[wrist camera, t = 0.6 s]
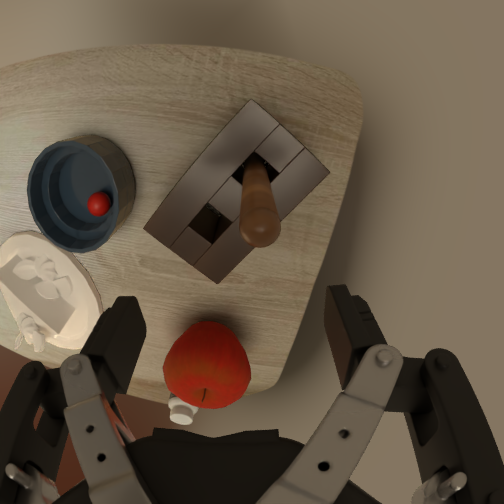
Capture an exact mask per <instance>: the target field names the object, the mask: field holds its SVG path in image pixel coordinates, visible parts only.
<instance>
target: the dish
mask: <svg viewBox="0 0 504 504" xmlns="http://www.w3.org/2000/svg"><path fill="white" fill-rule="evenodd" d="M0 289H1V291H2V293H3V296H4V298H5V300H6V302H7V304H8V306H9V309H10V311H11V313H12V315H13V317H14V319H15V321H16V323H17V325H18V328H19V330H20V331H21V332H20V333H19V334H18V336H17V338H16V341H15V350H17V348H18V347H19V346H20V344H21V343H22V340H23V337H24V338H25V340H26V341H27V343H28V345H29V344H32V343H33V344H34V351H35V352H41V351H43V350H44V347H45V341H46V342H49V343H51V344H53V345H55V346H58V347H60V348H67V349H75V350H76V349H80V348H83V346H84V344H85V342H86V340H87V339H88V337H89V335H90V333H91V332H92V331H93V328H94V326H95V325H96V322H97V321H98V319H99V317H100V315H101V314H102V313H103V309H102V304H101V299H100V295H99V293H98V291H97V289H96V287H95V285H94V283H93V281H92V279H91V277H90V275H89V273H88V272H87V271H86V270H85V269H84V267H83V266H82V265H81V264H80V263H79V261H78V260H77V259H76V258H75V257H74V255H73V254H72V253H71V252H68V251H66V250H64V249H61V248H59V247H57V246H56V245H54V244H53V243H52V242H51V241H50V240H48V239H47V238H46V237H45V236H44V235H42V234H40V233H37V232H34V231H26V232H19V233H15V234H14V235H13V236H11V237H10V238H9V239H8V240H7V241H6V242H5V243H4V244H3V245H1V248H0Z"/></svg>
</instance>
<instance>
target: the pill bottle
mask: <svg viewBox="0 0 504 504" xmlns="http://www.w3.org/2000/svg"><path fill="white" fill-rule="evenodd" d="M169 407H170V409H171V412H170V419H171V420H172V421H173V422H175V423H178V424H182V425H188V424H191V423H192V421H193V414H195V413H196V412H197V411H198V408H199V407H195V406H192V405H190V404H188V403H185V402H184V401H182V400H181V399H180V398H178V397H177V396H176V395H175V394H173V393H172V392H171V394H170V398H169Z"/></svg>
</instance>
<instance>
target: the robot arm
mask: <svg viewBox="0 0 504 504" xmlns="http://www.w3.org/2000/svg"><path fill="white" fill-rule="evenodd" d="M324 326H325V331H326V334H327V337H328V341H329V344H330V348H331V351H332V355H333V358H334V362H335V365H336V369H337V373H338V376H339V380H340V384H341V387H342V390H344V392H341V393H340V394H339V395H338V396H337V398H336V399H335V401H334V403H333V404H332V406H331V408H330V409H329V411H328V412H327V414H326V415H325V417H324V418H323V420H322V421H321V423H320V424H319V426H318V427H317V429H316V430H315V432H314V433H313V435H312V436H311V437H310V439H309V440H308V442H307V443H306V445H304V444H302V443H300V442H297V441H295V440H292V439H288V438H282V437H279V432H278V429H274V430H255V431H243V432H239V433H235V434H231V435H226V436H221V437H216V438H211V437H207V436H203V435H199V434H195V433H192V432H188V431H185V430H178V429H165V428H154V430H153V435H152V436H147V437H143V438H140V439H137V440H135V438H134V436H133V435H132V433H131V431H130V429H129V427H128V425H127V423H126V421H125V419H124V417H123V415H122V413H121V411H120V410H119V407H118V405H117V402H116V401H115V399H114V397H115V394H116V393H119V394H126V393H127V389H128V386H129V383H130V380H131V377H132V374H133V372H134V369H135V366H136V363H137V360H138V357H139V354H140V351H141V349H142V346H143V343H144V340H145V338H146V323H145V321H144V318H143V315H142V312H141V309H140V306H139V303H138V300H137V298H136V297H135V296H119V297H117V299H116V301H115V302H114V304H113V306H112V308H108V309H107V310H106V311H105V312H103V313H102V314H101V315H100V317H99V319H98V321H97V322H96V325H95V326H94V328H93V331H92V332H91V333H90V335H89V337H88V339H87V340H86V342H85V344H84V346H83V348H82V350H81V352H80V354H75V355H72V356H70V357H68V358H67V359H66V360H64V362H63V363H62V364H61V367H60V368H55V369H48V370H46V368H45V367H44V365H43V364H42V363H41V362H39V361H31V362H29V363H27V364H26V365H24V366H23V367H22V369H21V370H20V372H19V374H18V376H17V378H16V380H15V382H14V384H13V386H12V388H11V390H10V392H9V394H8V396H7V398H6V400H5V402H4V404H3V407H2V409H1V411H0V504H382V503H380V502H379V501H377V500H376V499H375V498H373V497H372V496H370V495H369V494H367V493H366V492H365V491H364V490H362V489H361V488H360V487H358V486H357V485H356V484H354V483H353V482H352V481H351V480H349V478H350V476H351V474H352V473H353V471H354V469H355V467H356V466H357V464H358V462H359V461H360V459H361V457H362V455H363V453H364V451H365V450H366V448H367V446H368V444H369V442H370V440H371V438H372V436H373V434H374V432H375V430H376V428H377V426H378V424H379V422H380V419H381V417H382V415H383V413H384V411H388V412H404V416H405V419H406V422H407V426H408V429H409V433H410V436H411V440H412V444H413V448H414V451H415V455H416V459H417V463H418V467H419V472H420V476H421V480H422V485H421V486H419V487H418V489H416V491H415V492H414V494H413V497H412V504H504V465H503V462H502V459H501V456H500V453H499V450H498V447H497V445H496V442H495V440H494V437H493V434H492V432H491V429H490V427H489V425H488V422H487V420H486V417H485V415H484V413H483V410H482V408H481V406H480V404H479V402H478V399H477V397H476V395H475V393H474V391H473V389H472V386H471V384H470V382H469V381H468V378H467V376H466V374H465V372H464V370H463V368H462V367H461V365H460V363H459V361H458V359H457V357H456V356H455V355H454V354H453V353H452V352H450V351H448V350H446V349H441V348H438V349H433V350H431V351H429V352H428V353H427V355H426V356H425V359H422V358H408V357H403V356H402V355H401V353H400V352H399V351H398V350H397V349H396V348H394V347H392V346H390V345H388V344H387V342H386V340H385V338H384V336H383V334H382V332H381V330H380V328H379V326H378V324H377V322H376V320H375V318H374V316H373V314H372V313H371V310H370V308H369V306H368V304H367V302H366V301H365V300H363V299H362V298H361V297H360V296H359V295H355V296H351V295H350V293H349V291H348V288H347V286H346V285H344V284H343V285H333V286H327V289H326V299H325V309H324ZM39 406H40V407H41V408H42V409H43V410H44V411H43V413H42V416H41V418H40V421H39V424H38V427H37V429H36V431H35V429H34V426H33V421H34V417H35V415H36V413H37V410H38V408H39ZM68 433H70V436H71V439H72V442H73V445H74V448H75V451H76V454H77V457H78V459H79V462H80V465H81V468H82V470H83V473H84V475H85V479H83V480H82V481H81V482H79V483H78V484H77V485H76V486H74V487H73V488H71V489H70V490H69V491H67V492H66V493H65V494H63V495H62V496H61V497H60V495H59V494H58V492H57V488H56V485H55V481H56V477H57V473H58V469H59V465H60V461H61V457H62V453H63V450H64V447H65V443H66V440H67V436H68Z"/></svg>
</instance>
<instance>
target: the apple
mask: <svg viewBox="0 0 504 504" xmlns="http://www.w3.org/2000/svg"><path fill="white" fill-rule="evenodd" d="M163 372H164V378H165V382H166V384H167V387H168V389H169V390H170V391H171V392H172V393H173V394H175V395H176V396H177V397H178V398H180V399H181V400H182V401H184V402H185V403H188V404H190V405H192V406H195V407H200V408H211V409H217V408H223V407H226V406H228V405H230V404H232V403H233V402H235V401H237V400H238V399H240V398H241V397H242V395H243V394H244V392H245V391H246V389H247V387H248V384H249V382H250V380H251V368H250V365H249V361H248V358H247V355H246V352H245V350H244V348H243V347H242V345H241V344H240V342H239V340H238V339H237V337H236V336H235V334H234V333H233V332H232V330H230V329H229V328H227V327H226V326H224V325H223V324H220V323H216V322H213V321H201V322H198V323H196V324H193V325H192V326H191V327H190V328H188V329H187V330H186V331H185V332H184V333H183V334H182V335H181V336H180V337H179V338H178V339H177V340H176V341H175V342H174V344H173V346H172V347H171V349H170V351H169V353H168V354H167V356H166V358H165V362H164V365H163Z"/></svg>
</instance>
